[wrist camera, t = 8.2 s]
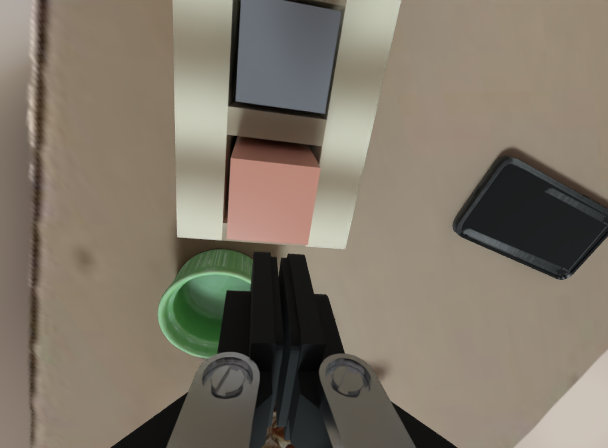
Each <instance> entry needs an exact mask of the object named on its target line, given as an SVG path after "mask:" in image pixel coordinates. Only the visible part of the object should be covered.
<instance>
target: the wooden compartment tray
mask: <svg viewBox="0 0 608 448" xmlns="http://www.w3.org/2000/svg"><path fill="white" fill-rule="evenodd" d="M284 1H290V2H295V3H300V4H305V5H310V6H316V7H321V8H326V9H331V10H336V11H341V18H340V24H339V30H338V36H337V42H336V48H335V54H334V60H333V67H332V73H331V79H330V85H329V91H328V97H327V103H326V110H325V114H323V113H316V112H309V111H302V110H295V109H287V108H280V107H273V106H266V105H259V104H251V103H244V102H237V101H236V82H237V64H238V45H239V27H240V8H241V0H173V41H174V94H175V148H176V201H177V237H181V238H195V239H209V240H223V241H237V242H251V243H266V244H280V245H294V246H308V247H322V248H336V249H345V248H346V243H347V239H348V234H349V230H350V226H351V221H352V217H353V212H354V208H355V203H356V199H357V194H358V190H359V186H360V181H361V177H362V172H363V168H364V163H365V159H366V154H367V150H368V145H369V141H370V137H371V132H372V128H373V123H374V119H375V114H376V110H377V105H378V101H379V97H380V92H381V88H382V83H383V79H384V74H385V70H386V65H387V61H388V56H389V52H390V48H391V43H392V39H393V34H394V30H395V25H396V21H397V16H398V12H399V8H400V3H401V0H284ZM234 136H243V137H251V138H259V139H267V140H275V141H284V142H292V143H300V144H308V146H309V148H310V150H311V151H312V153H313V155H314V157H315V159H316V160H317V162H318V164H319V166H320V167H321V170H320V176H319V182H318V188H317V194H316V200H315V205H314V211H313V217H312V223H311V229H310V235H309V241H308V245H301V244H287V243H273V242H259V241H245V240H231V239H227V221H228V202H229V182H230V163H231V156H232V153H233V138H234Z"/></svg>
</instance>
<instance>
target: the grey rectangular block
mask: <svg viewBox="0 0 608 448" xmlns="http://www.w3.org/2000/svg"><path fill="white" fill-rule="evenodd" d="M340 18H341V11H336V10H331V9H326V8H321V7H316V6H310V5H305V4H300V3H295V2H290V1H284V0H241V10H240V29H239V47H238V66H237V84H236V101H237V102H244V103H251V104H259V105H266V106H273V107H280V108H287V109H295V110H302V111H309V112H316V113H323V114H325V110H326V103H327V97H328V91H329V85H330V79H331V73H332V67H333V60H334V54H335V48H336V42H337V36H338V30H339V24H340Z"/></svg>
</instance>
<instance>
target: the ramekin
mask: <svg viewBox="0 0 608 448" xmlns="http://www.w3.org/2000/svg"><path fill="white" fill-rule="evenodd" d="M252 265H253V260H252V259H251V258H250V257H248V256H247V255H244V254H242V253H240V252H236V251H232V250H226V249H217V250H215V249H214V250H209V251H206V252H202V253H200V254H198V255H196V256H194V257H193V258H191V259H190V260H188V261H187V262H186V263H185V264H184V266H183V267H182V268H181V270H180V271H179V273H178V274H177V276H176V278H175V279H174V281H173V283H172V284H171V285H170V286H169V287H168V289H167V290H166V291H165V293H164V294H163V296H162V298H161V300H160V303H159V307H158V321H159V325H160V327H161V330H162V332H163V333H164V335H165V336H166V338H167V339H168V340H169V341H170V342H171V343H172V344H173V345H175V346H176V347H177V348H179V349H181V350H182V351H184V352H186V353H188V354H191V355H194V356H197V357H201V358H210V357H212V356H214V355H216V354H217V351H218V345H219V338H220V331H221V325H222V318H223V311H224V304H225V298H226V291H227V290H234V291H250V287H251V276H252Z"/></svg>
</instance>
